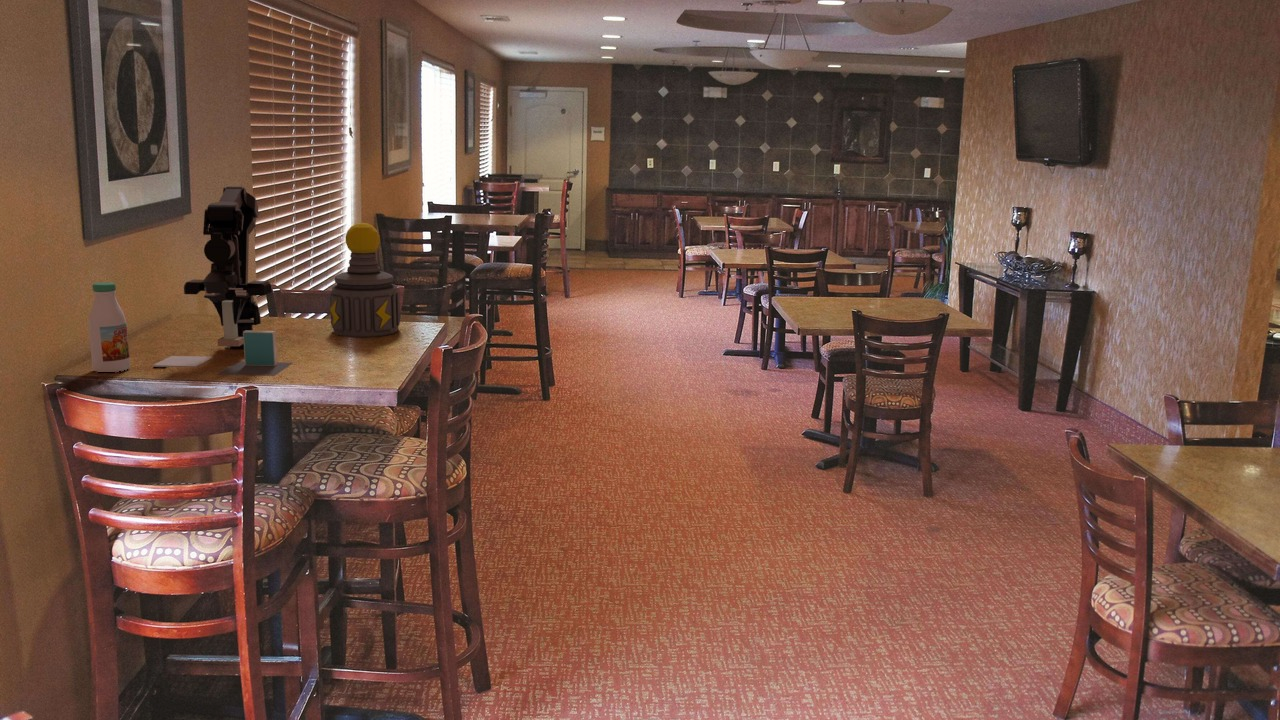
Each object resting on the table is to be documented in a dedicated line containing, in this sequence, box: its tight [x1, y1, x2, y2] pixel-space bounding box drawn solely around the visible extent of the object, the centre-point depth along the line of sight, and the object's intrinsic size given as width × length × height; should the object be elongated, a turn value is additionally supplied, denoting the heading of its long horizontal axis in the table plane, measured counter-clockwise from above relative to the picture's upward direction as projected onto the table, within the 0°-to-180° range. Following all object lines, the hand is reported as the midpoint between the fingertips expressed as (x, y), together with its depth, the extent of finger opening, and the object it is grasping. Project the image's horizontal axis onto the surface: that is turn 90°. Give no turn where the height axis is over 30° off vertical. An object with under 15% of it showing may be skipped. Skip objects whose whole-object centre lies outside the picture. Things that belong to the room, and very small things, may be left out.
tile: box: [243, 330, 278, 366], centre depth 241 cm, size 2×7×8 cm, turn 90°
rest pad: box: [152, 355, 214, 368], centre depth 244 cm, size 10×10×1 cm
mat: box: [217, 361, 293, 377], centre depth 239 cm, size 13×13×1 cm
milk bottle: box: [88, 281, 131, 373], centre depth 234 cm, size 8×8×20 cm
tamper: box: [217, 300, 244, 347], centre depth 246 cm, size 4×5×10 cm
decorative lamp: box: [329, 222, 401, 338], centre depth 283 cm, size 19×19×30 cm
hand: (230, 323), depth 246 cm, fingers closed on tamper, 2 cm apart
